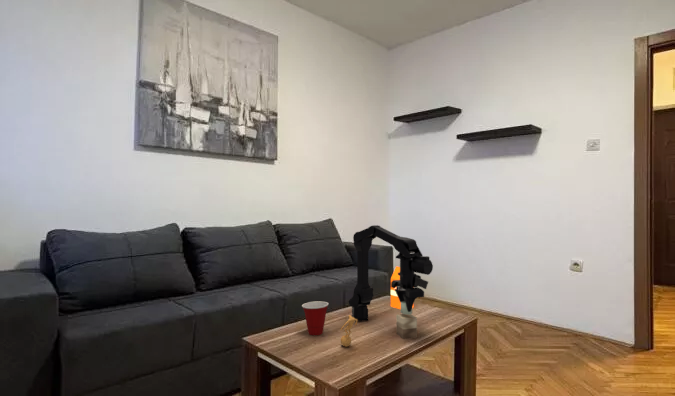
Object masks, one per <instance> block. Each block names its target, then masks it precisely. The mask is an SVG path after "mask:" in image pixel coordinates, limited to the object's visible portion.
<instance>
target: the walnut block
mask: <svg viewBox="0 0 675 396" xmlns="http://www.w3.org/2000/svg"><path fill="white" fill-rule="evenodd" d="M395 331H396V333H395V334H396V335H397V336H398V337H400V338H401V339H402V340H407V339H417V338H418V334H417V333H418V327H417V328H411V329H402V328H401V327H399V326H398V325H396V330H395Z"/></svg>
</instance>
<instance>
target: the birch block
mask: <svg viewBox="0 0 675 396" xmlns="http://www.w3.org/2000/svg"><path fill="white" fill-rule="evenodd" d="M395 316H396V317H395V318H396V319H395V321H396V324H395V325H396V326H397V325H398V326H399V327H401V328H402V329H411V328H417V329H418V317H416V316H415V315H413V313H412V314H402V313H400V314H399V313H398V314H396V315H395Z"/></svg>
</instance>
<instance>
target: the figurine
mask: <svg viewBox="0 0 675 396" xmlns="http://www.w3.org/2000/svg"><path fill="white" fill-rule="evenodd" d="M358 322H359V321H358V320H357V319H355V318H353V317H352V314H349V315H348V320H347V321H345V323H344V325H342V327H341V328H340V331H342V329H343V328H344V331H345V332H344V333H346V334H345V335H342V337H340V344H341V346H343V347H345V348H346V347H350V345H351V344H352V338H351V337H350V335H351V329H352V328H353V327H354V325H353V324H355V326H358Z"/></svg>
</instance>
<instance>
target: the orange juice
mask: <svg viewBox="0 0 675 396" xmlns="http://www.w3.org/2000/svg"><path fill="white" fill-rule="evenodd" d="M398 272H400V266H397V265H396V266H395V268H394V270H393V273H392V275H391V277H390V283H391V282H392V281H393V280H400V276H399V275H398ZM413 288H415V287H413ZM395 289H396V287H395V288H392V287H391V286H390V307H391V308H394V309H398V310H401V303H400V300H399V298H398V296H397V294H396V292H395ZM414 303H415V302H414ZM414 303H413V306H412V309H414Z"/></svg>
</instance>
